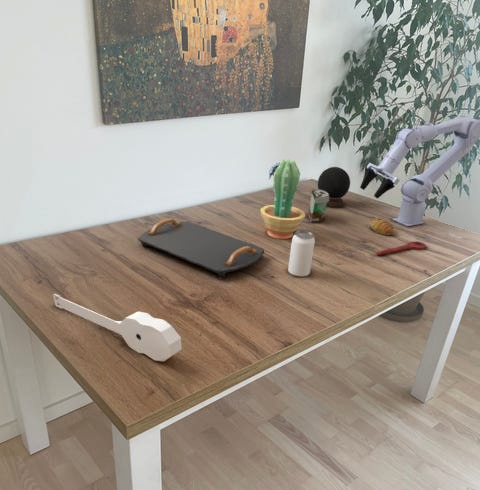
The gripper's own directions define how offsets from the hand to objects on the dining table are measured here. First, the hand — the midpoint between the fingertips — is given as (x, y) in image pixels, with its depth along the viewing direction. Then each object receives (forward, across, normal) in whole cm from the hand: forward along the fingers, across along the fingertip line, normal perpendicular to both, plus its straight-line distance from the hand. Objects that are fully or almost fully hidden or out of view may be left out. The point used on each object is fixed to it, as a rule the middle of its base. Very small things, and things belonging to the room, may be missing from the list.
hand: (368, 193), depth 176 cm
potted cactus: (+29, -2, -25) cm, 38 cm away
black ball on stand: (+11, -22, +12) cm, 28 cm away
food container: (+18, -9, -4) cm, 21 cm away
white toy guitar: (+60, +34, -88) cm, 112 cm away
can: (+32, +26, -37) cm, 55 cm away
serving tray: (+44, +2, -54) cm, 70 cm away
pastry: (+8, +9, +8) cm, 15 cm away
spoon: (+10, +25, 0) cm, 27 cm away
